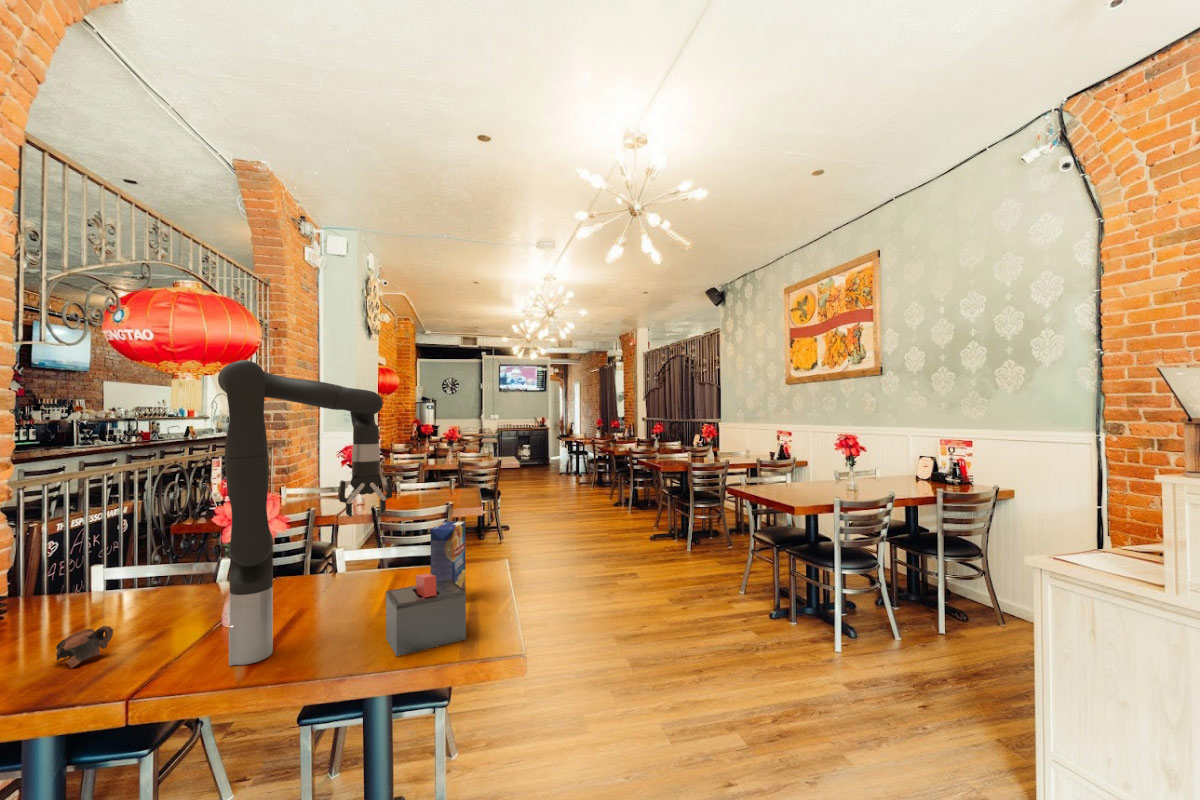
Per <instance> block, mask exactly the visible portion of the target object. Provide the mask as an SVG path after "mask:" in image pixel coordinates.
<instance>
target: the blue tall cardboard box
mask: <svg viewBox="0 0 1200 800" xmlns="http://www.w3.org/2000/svg"><path fill="white" fill-rule="evenodd" d="M430 574H431V575H435V576H436V582H439V581H445V580H453V581H454V582H455V583H456V584H457V585H458V586H459V587H461V588H462V589H463V590H464V591H465V592H466V521H451V520H450V521H442V522H441V523H439V524H437V525H435V526H433V527H431V528H430ZM466 593H467V592H466Z"/></svg>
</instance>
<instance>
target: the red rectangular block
mask: <svg viewBox="0 0 1200 800" xmlns="http://www.w3.org/2000/svg"><path fill="white" fill-rule="evenodd" d="M415 582H416V583H415V586H416V588H417V594H418V595H420V596H423V597H430V596H435V595H437V593H436V576H435V575H431V573H423V574H416V575H415Z"/></svg>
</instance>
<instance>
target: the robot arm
mask: <svg viewBox="0 0 1200 800" xmlns="http://www.w3.org/2000/svg"><path fill="white" fill-rule="evenodd" d="M217 381H218V385H219V387H220V389H221V390H222V391H223V392H224V393H225V394H226V399H227V406H228V413H229V415H228V417H229V418H228V419H229V420H228V421H229V422H228V426H227V433H226V439H225V444H224V445H225V446H224V469H225V477H226V478H225V480H226V486H227V493H228V497H229V503H230V509H231V531H230V542H229V547H228V548H229V549H228V550H229V554H230V556H229V557H230V560H229V561H230V562H229V563H230V571H229V624H228V626H229V627H228V666H229V667H230V666H231V667H232V666H245V665H251V664H254V663H259V662H261V661H264V660H265V659H267V658H269V657H270V656H271V655H273V652H274V651H273V650H274V649H273V647H274V642H273V641H274V640H273V639H274V637H273V634H274V633H273V632H274V629H273V628H274V626H273V623H274V622H273V621H274V617H273V616H274V612H273V610H274V609H273V608H274V607H273V606H274V604H273V603H274V601H273V599H274V598H273V593H274V592H273V591H274V587H273V585H274V584H273V583H274V581H273V580H274V564H273V563H274V560H273V557H274V556H273V555H274V552H273V550H274V539H273V538H274V537H273V534H272V532H271V531H270V526H269V518H268V511H267V509H268V508H267V507H268V505H267V503H268V494H269V483H270V482H269V481H270V480H269V479H270V461H269V448H268V447H269V446H268V437H267V430H266V421H265V400H266V398H269V399H278V400H282V401H288V402H292V403H293V402H294V403H298V404H302V405H308V406H313V407H318V408H323V409H328V410H336V411H347V412H350V418H351V424H352V427H353V428H352V429H353V430H352V432H353V434H352V435H353V436H352V438H353V439H352V451H351V453H352V454H351V479H350V480H340V481H339V490H338V501H339V502H341V503H344V504H345V514H346V515H347V516H348V517H349V518H350V517H353V501H354V499H355V498H356V497H357V496H359V495H360V496H361V495H366V494H367V495H373V494H374V493H375V494H376V495H377V496H378V498H379V514H380V515H382V514H384V512H386V509H387V508H386V506H387V505H386V502H387V500H388V499H392V498H393V482H392V478H391V477H389V476H386V477H385V478H381V448H380V428H379V425H377V424H376V420H375V415H376V414H378V413H380V411H381V410H382V408H383V405H384V402H383V398H382V397H381V396H380V394H378V393H377V392H375V391H371V390H368V389H359V388H352V387H351V388H350V387H346V386H341V385H338V384H333V383H330V382H329V383H328V382H323V381H317V380H312V379H302V378H293V377H289V376H288V377H287V376H282V375H277V374H273V373H271V372H270V373H269V372H267V371H264V369H263V368H262V367H261V365H259V364H257V363H256V362H254V361H251V360H247V359H242V360H241V359H240V360H237V361H234V362H233V361H232V362H230V363H229V364H227V365H225V366H224V367H223V368H222V369H221V370H220V371H219V374H218V377H217ZM382 483H383V485H384V486H385V487H386V488H385V490H386V494H384V493H383V491H381V490H380V489H379V487H380V485H381V484H382ZM349 486H351V488H353V489H352V491H351V492H350V493H349V495H348V496H347V497H346V496H345V495H346V489H349Z"/></svg>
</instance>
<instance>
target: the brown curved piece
mask: <svg viewBox="0 0 1200 800" xmlns="http://www.w3.org/2000/svg"><path fill="white" fill-rule="evenodd" d="M113 634H114V629H113V628H112V627H111V626H109V625H108V626H107V625H103V626H100V627H99V628H97V629H96V630H95V629H92V628H85V629H81V630H79V631H76V632H74V633H72V634H71V635H69V636H67V637H65V638H64V639H62V640H61V641H60V642H58V643H57V645H56V646H55V648H56V649H55V650H56V654H55V655H56V661H57V662H58V661H60V660H61V659H66V658H68V657H69V658H70V659H68V660H67V661H66V664H67V665H68V666H69V667H70V668H71V669H73V667H74V668H75V667H76V666H78V665H80V664H81V663H82V662H84V661H86V660H87V661H88V660H89V659H91V658H93V657H94V658H95V657H97V656H100V655H101V651H100V648H101V649H103V650H104V649H106V648H107V647H108V645H109V644H108V643H109V642H110V641H111V640H112V637H113Z"/></svg>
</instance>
